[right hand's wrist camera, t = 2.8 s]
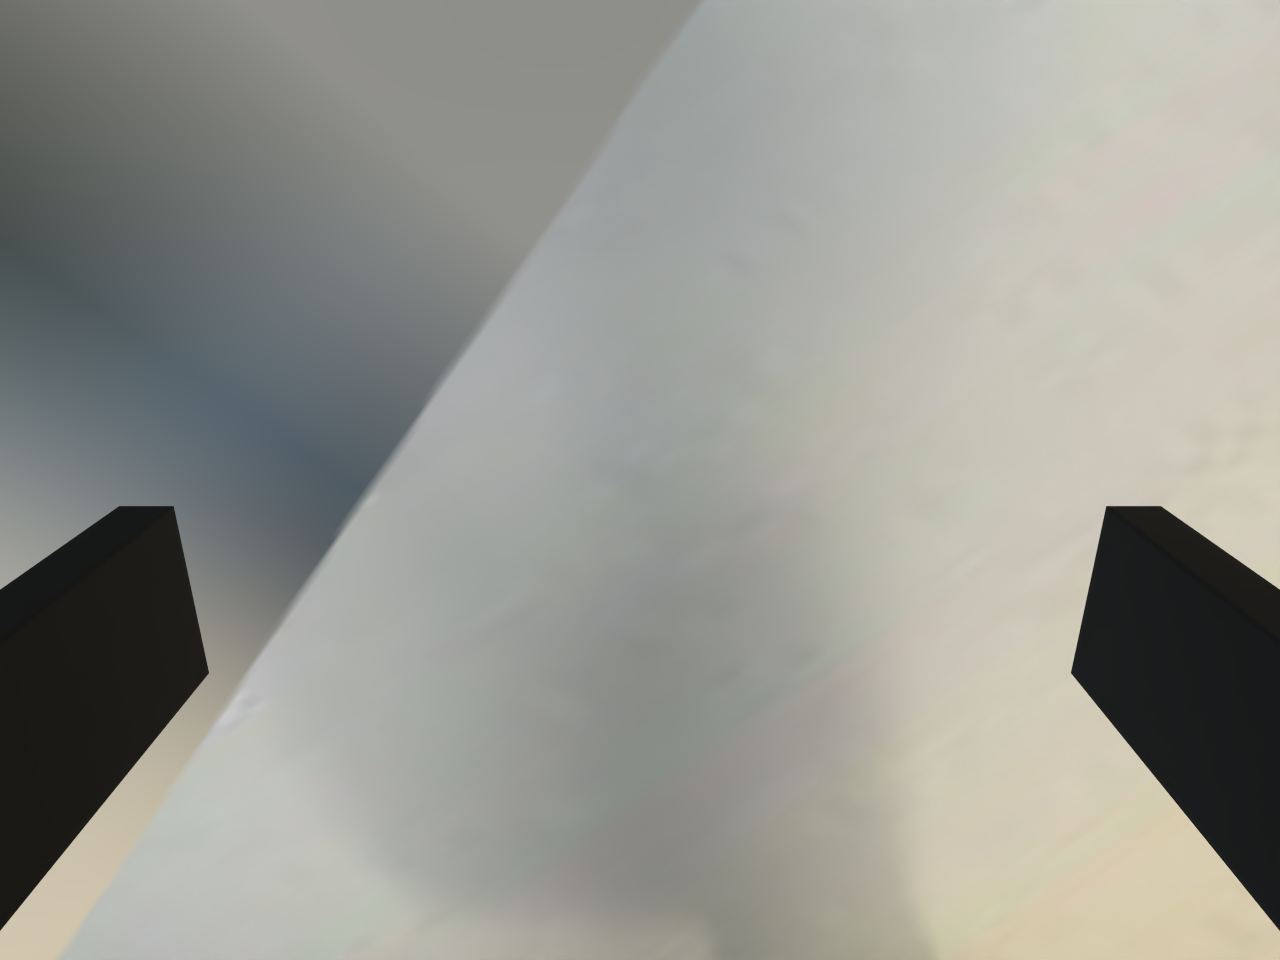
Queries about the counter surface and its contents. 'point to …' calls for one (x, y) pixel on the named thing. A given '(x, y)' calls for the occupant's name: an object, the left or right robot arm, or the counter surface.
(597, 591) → the counter surface
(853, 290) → the counter surface
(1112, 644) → the right robot arm
